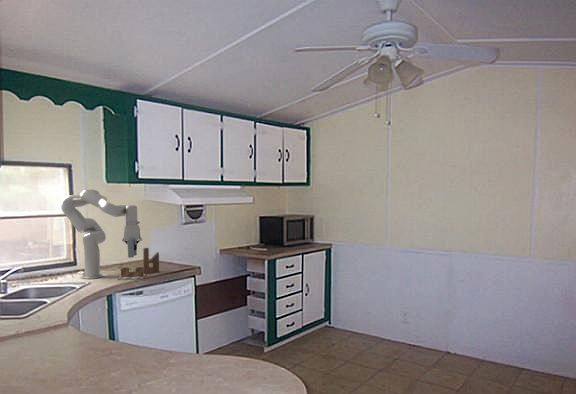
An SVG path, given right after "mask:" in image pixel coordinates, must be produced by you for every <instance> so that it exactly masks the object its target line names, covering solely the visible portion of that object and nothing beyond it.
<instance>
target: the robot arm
mask: <svg viewBox="0 0 576 394" xmlns="http://www.w3.org/2000/svg"><path fill="white" fill-rule="evenodd" d="M87 205H92V206H94V207H96V208H98V209H100V211H102V212H103V213H105V214H107V215H109V216H111V217H115V218H118V217H125V225H124V229H123V237H122V240H121V241H122V242H123V243H125V244H126V245H127V246H128V239H134V242H135V244H134V251H135V250H136V249H138V244H139V243H141V241H143V238H142V237H141V228H140V225H139V224H140V223H141V221H138V206H137V205H134V204H133V205H123V204H121V205H119V204H118V205H115V204H113V203H111V202H109V201H108V199H107V197H106V196H105V195H102V194H101V193H100V192H99V191H98V190H97V189H84V190H82V191H81V192H80V194H70V195H67V196H65V197H63V198H62V200H61V203H60V207H61V211H62V212H63V214H64V215H65V216H66V218H67V219H68V220H69V221H70V223H71V224H72V226H73V228H75V230H76V231H77V232H79V233H82V234H84V233H85V234H84V235H83V236H82V244H83V252H84V253H83V254H84V271H78V275H79V276H80V275H82V276H81V277H82V279H84V280H85V279H86V280H87V279H88V280H93V279H99V278H102V277H103V274H102V273H101V269H100V268H101V263H100V262H101V256H100V254H101V253H100V247H99V244H103V242H106V239H107V238H106V236H107V235H106V233H105V231H104V230H103V228H102V227H101V226H100V224H99V223H98V222H97V221H96V220H95V219H94V218H90V217H89V218H88V217H87V218H86V217H85V216H84V215H83V214H82V213H81V211H79V209H77V208H81V207H84V206H87Z"/></svg>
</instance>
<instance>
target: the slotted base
mask: <svg viewBox="0 0 576 394" xmlns="http://www.w3.org/2000/svg"><path fill="white" fill-rule="evenodd" d="M143 268H144V266H136V267H135V271H130V267H128V266H125V267H120V276H119V277H118V278H117V280H118V281H128V280H129V279H135V280H143V279H145V277H147V273H143Z"/></svg>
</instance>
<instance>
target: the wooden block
mask: <svg viewBox="0 0 576 394" xmlns="http://www.w3.org/2000/svg"><path fill="white" fill-rule="evenodd" d="M149 251H150V249H149V247H144V248H143V257H142V258H143V274H151V273H159V272H160V253H159V252H158V251H157V252H155V254H154V255H153V256H152V257H151V258H150V255H149V253H150V252H149ZM150 264H152V266H150Z"/></svg>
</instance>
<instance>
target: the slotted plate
mask: <svg viewBox="0 0 576 394" xmlns="http://www.w3.org/2000/svg"><path fill="white" fill-rule="evenodd" d="M134 244H135V242H134V239H128V245H127V256H128V257H127V258H130V259H131V258H134V257H135V256H137V255H138V251H137V249H138V248H137V249H136V250H135V251H134Z"/></svg>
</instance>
